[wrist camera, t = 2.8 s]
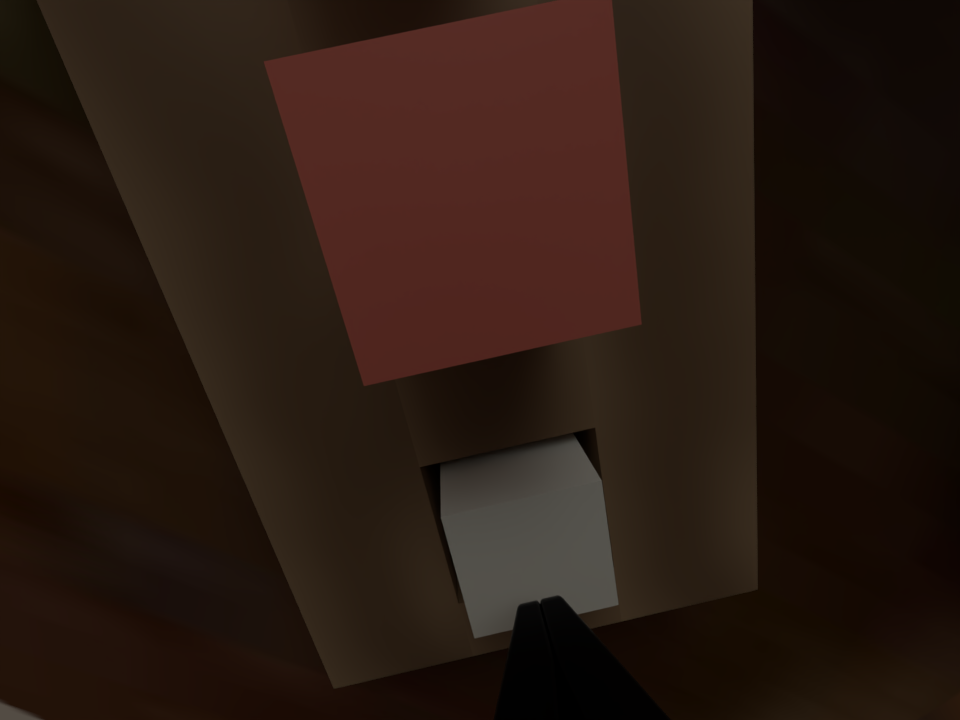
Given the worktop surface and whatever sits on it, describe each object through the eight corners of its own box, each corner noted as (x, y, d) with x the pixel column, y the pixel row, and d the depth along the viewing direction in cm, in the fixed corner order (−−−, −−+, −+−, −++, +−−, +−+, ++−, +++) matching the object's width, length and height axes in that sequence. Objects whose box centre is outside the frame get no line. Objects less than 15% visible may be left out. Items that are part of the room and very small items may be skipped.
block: (618, -446, 9) (744, -901, 5) (684, 502, 17) (757, 589, 13) (23, -333, 9) (-276, -724, 5) (357, 577, 16) (333, 689, 13)
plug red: (521, 102, 9) (610, -12, 4) (547, 271, 10) (641, 324, 6) (353, 138, 9) (263, 61, 4) (398, 303, 10) (364, 386, 5)
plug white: (547, 390, 14) (601, 480, 10) (563, 482, 15) (618, 604, 11) (440, 414, 14) (440, 517, 9) (463, 505, 15) (474, 638, 11)
